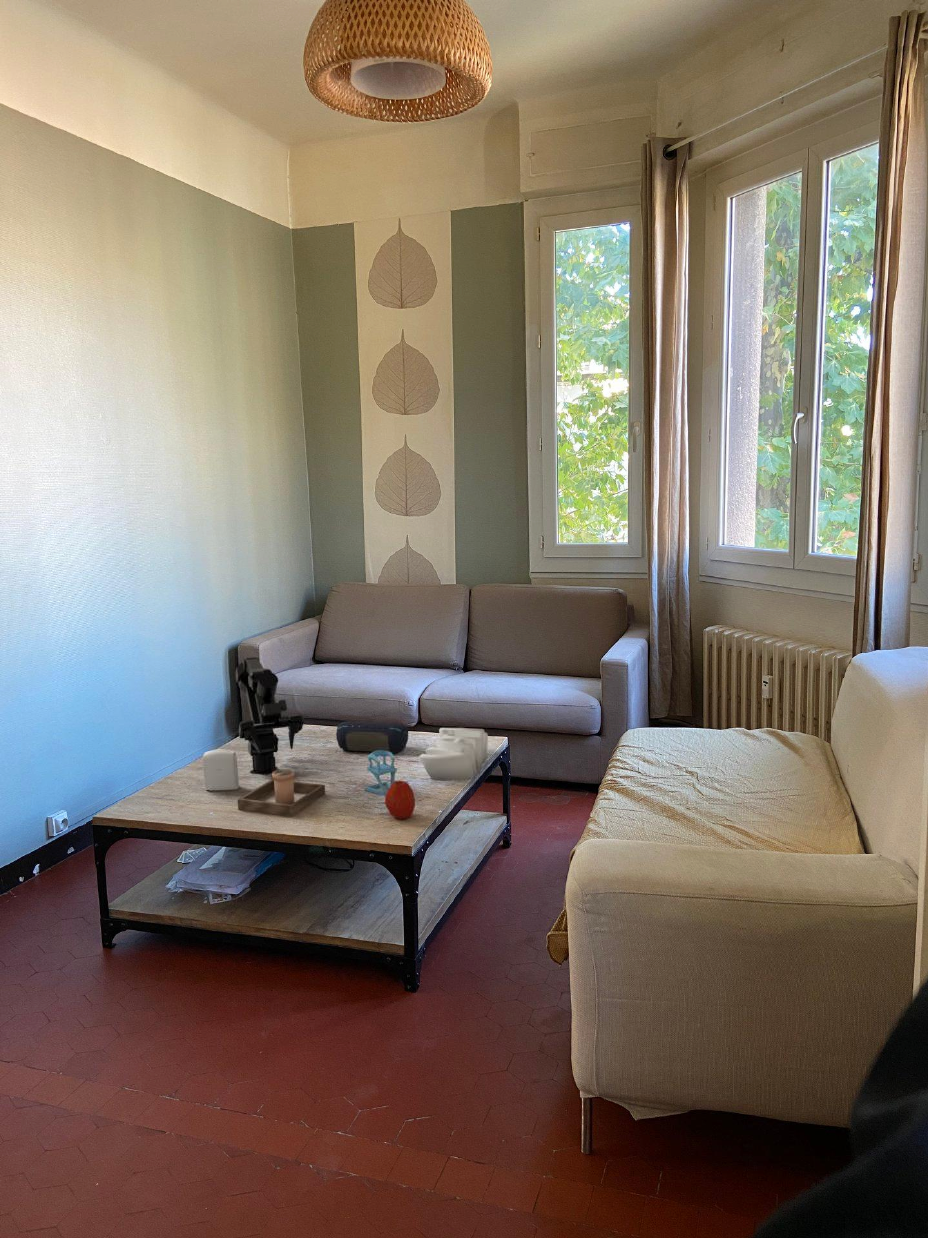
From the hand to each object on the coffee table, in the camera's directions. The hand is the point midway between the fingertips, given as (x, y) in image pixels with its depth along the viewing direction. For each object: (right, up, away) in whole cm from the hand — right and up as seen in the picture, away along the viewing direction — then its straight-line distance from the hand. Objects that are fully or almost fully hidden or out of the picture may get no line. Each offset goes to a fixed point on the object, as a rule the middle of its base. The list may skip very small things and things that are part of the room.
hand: (276, 750), depth 262 cm
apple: (+38, -16, -16) cm, 44 cm away
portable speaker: (+24, -7, +44) cm, 50 cm away
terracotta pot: (+4, -15, -6) cm, 17 cm away
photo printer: (-19, -13, +10) cm, 25 cm away
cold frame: (+2, -14, -3) cm, 15 cm away
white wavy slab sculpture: (+53, -9, +24) cm, 59 cm away
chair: (+31, -13, +4) cm, 34 cm away
